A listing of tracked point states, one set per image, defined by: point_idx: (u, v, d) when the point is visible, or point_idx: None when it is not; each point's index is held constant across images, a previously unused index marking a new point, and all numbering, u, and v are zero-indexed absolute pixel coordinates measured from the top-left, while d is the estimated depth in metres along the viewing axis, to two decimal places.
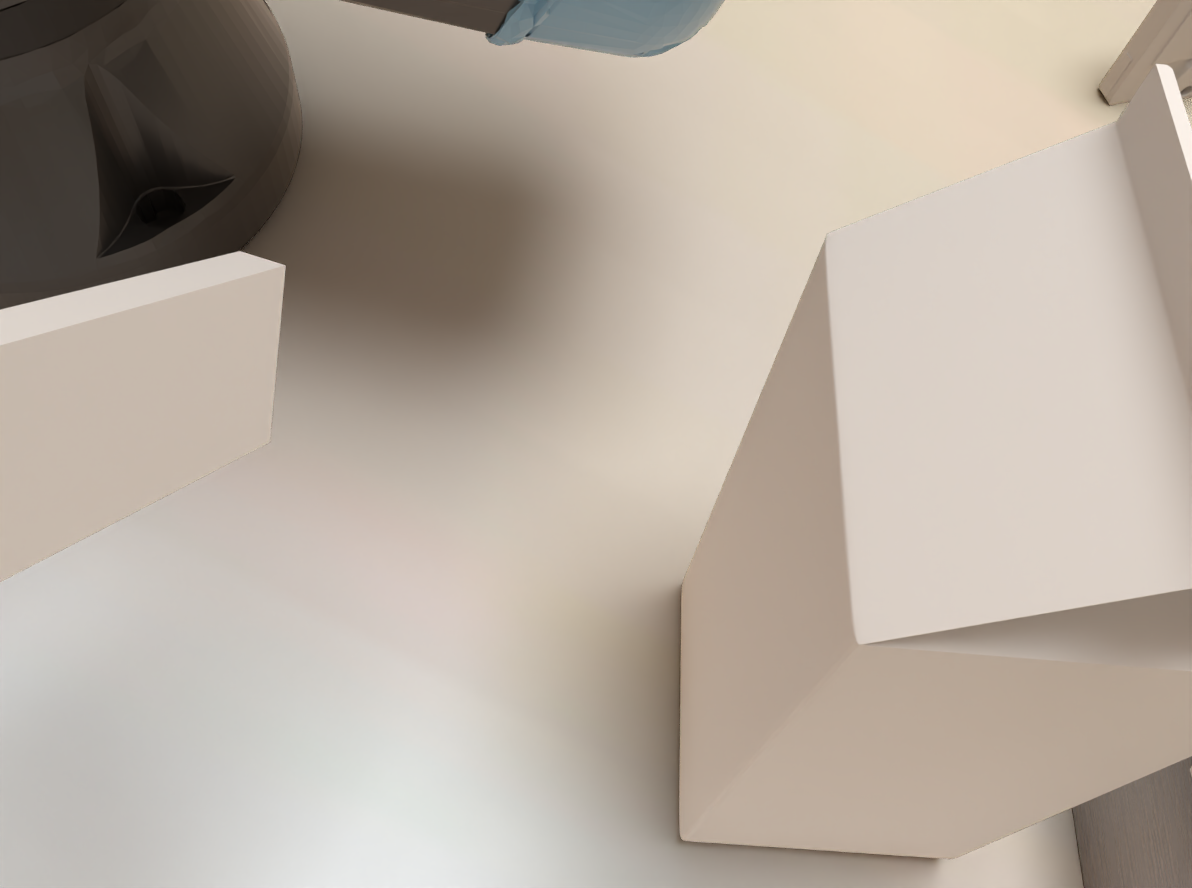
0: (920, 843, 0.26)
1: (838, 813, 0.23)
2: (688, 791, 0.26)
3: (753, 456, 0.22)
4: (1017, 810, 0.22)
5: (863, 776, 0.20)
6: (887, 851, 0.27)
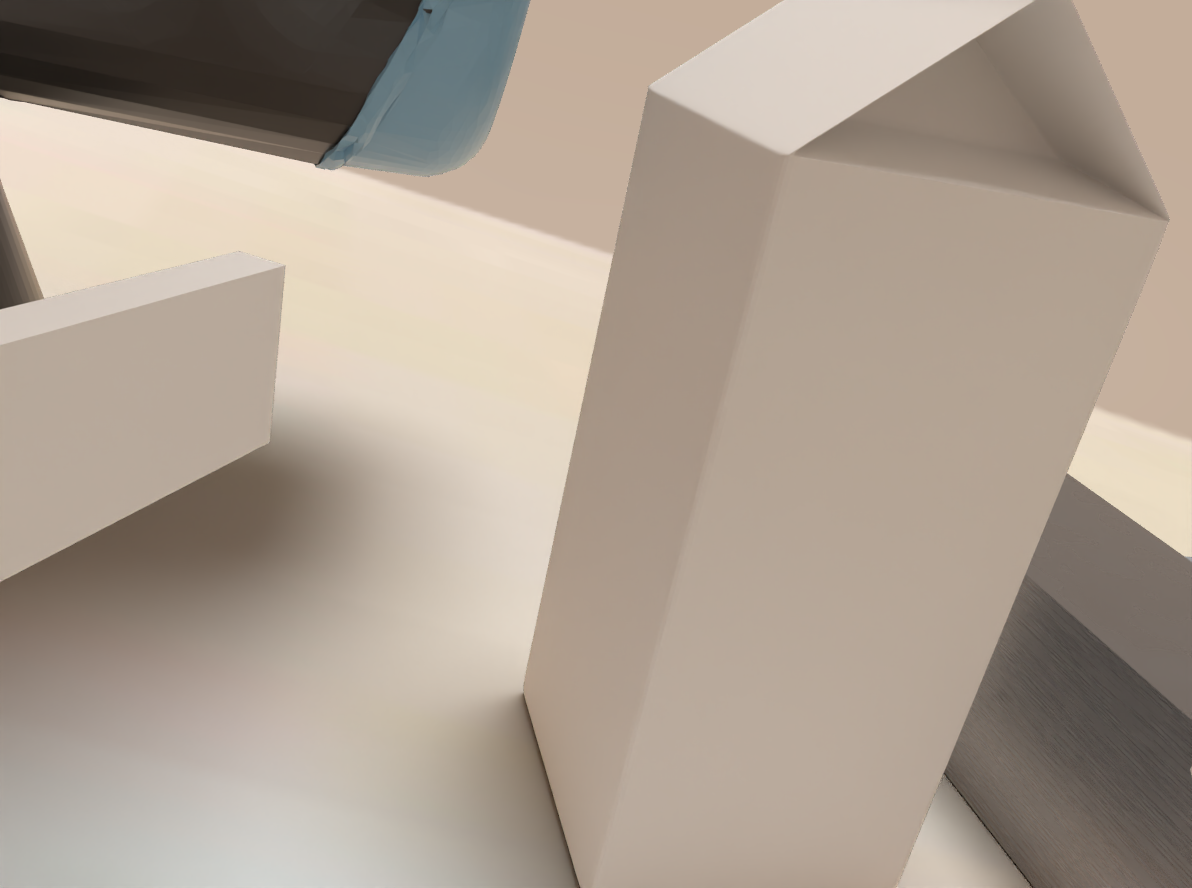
0: (859, 828, 0.22)
1: (772, 724, 0.20)
2: (589, 817, 0.22)
3: (606, 359, 0.23)
4: (948, 664, 0.21)
5: (797, 572, 0.19)
6: (826, 873, 0.23)
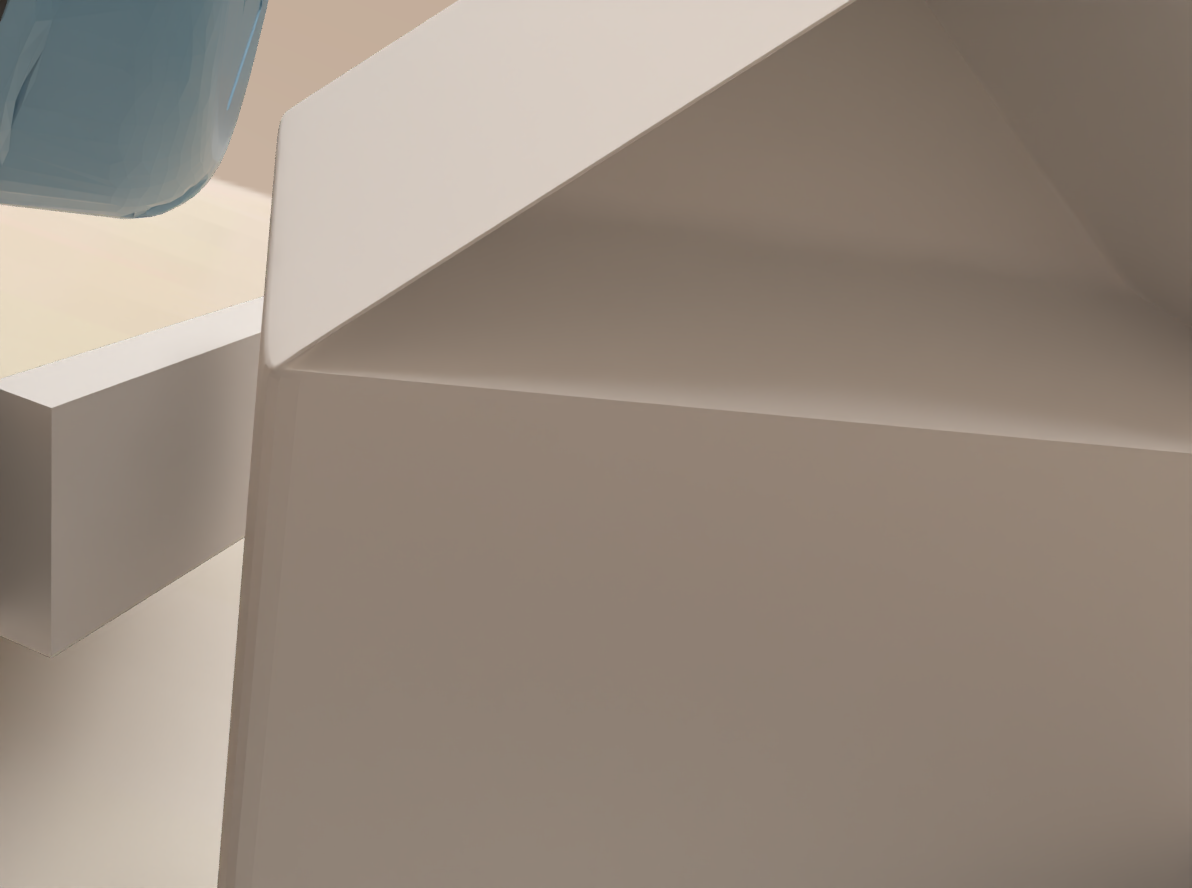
0: None
1: None
2: None
3: None
4: None
5: None
6: None
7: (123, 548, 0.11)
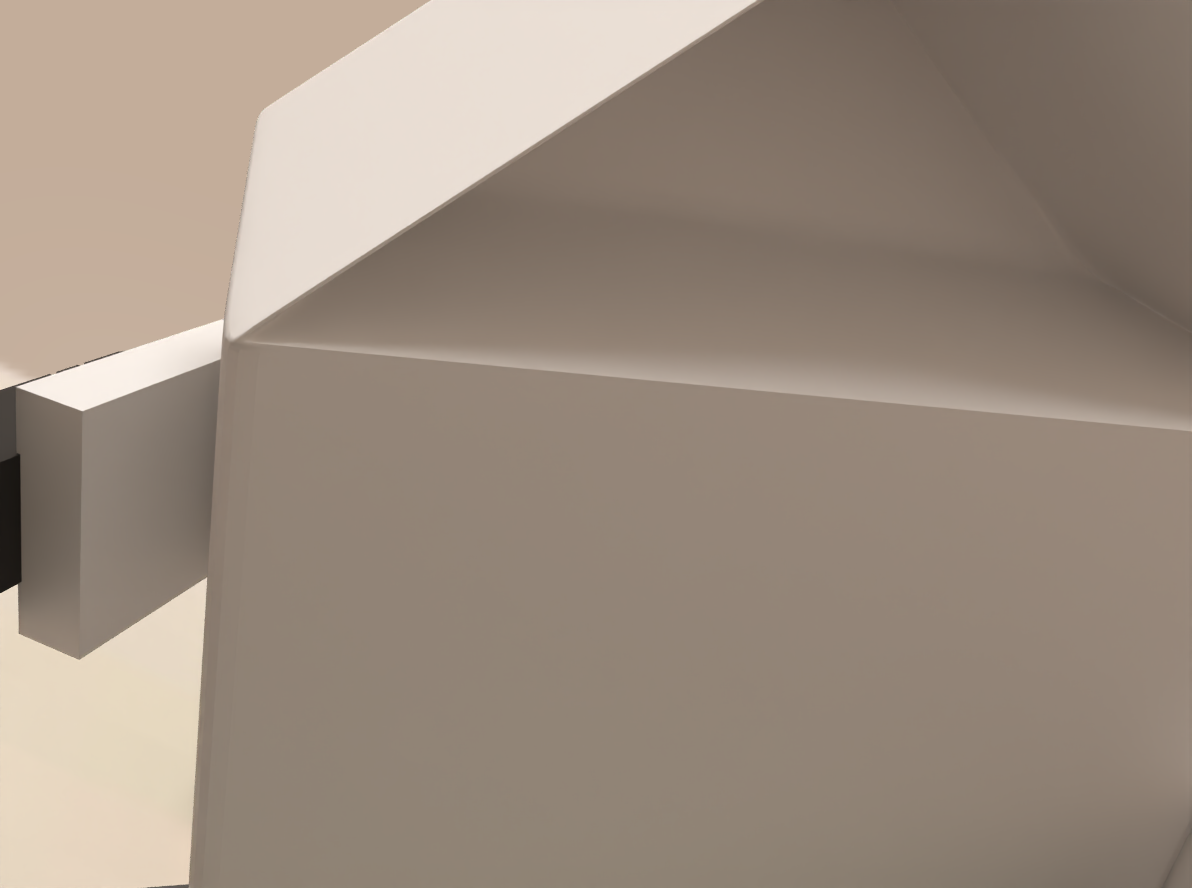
0: None
1: None
2: None
3: None
4: None
5: None
6: None
7: (149, 550, 0.11)
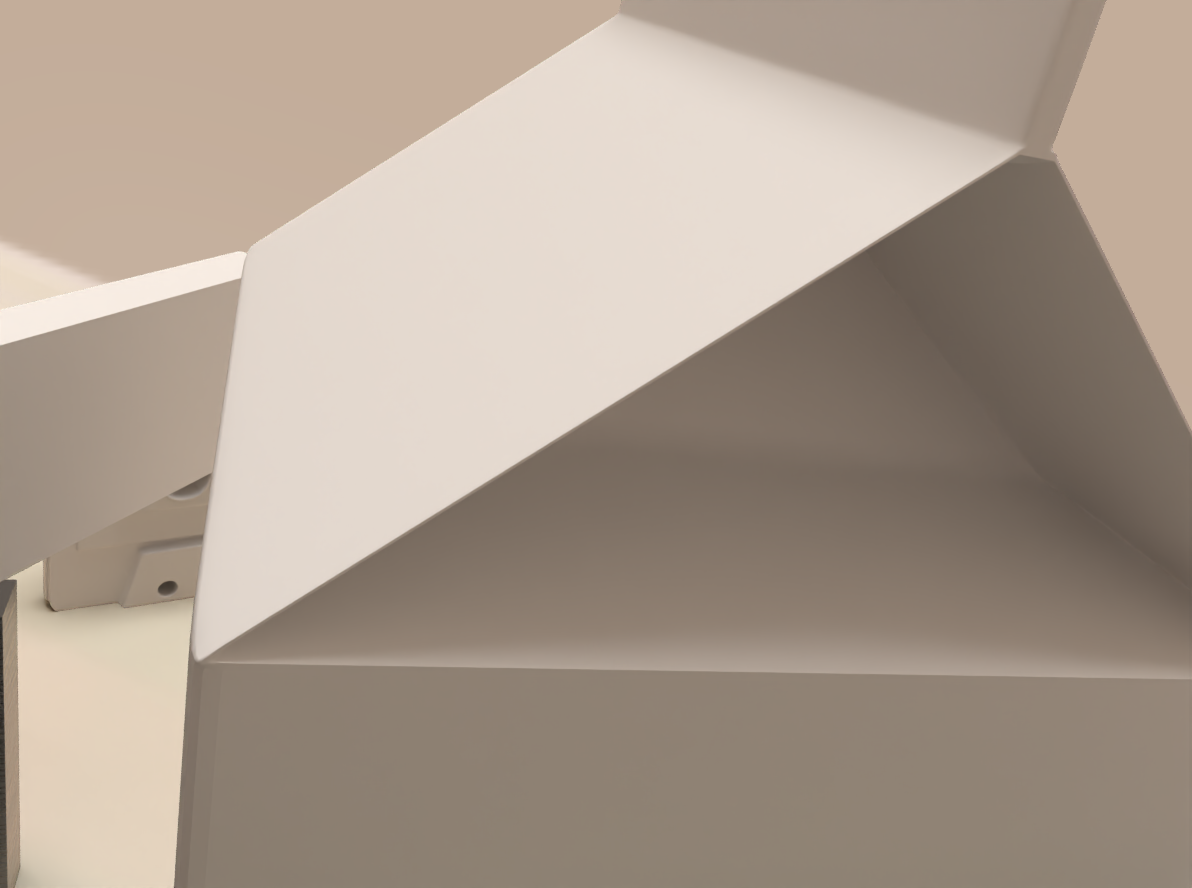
0: None
1: None
2: None
3: None
4: None
5: None
6: None
7: None
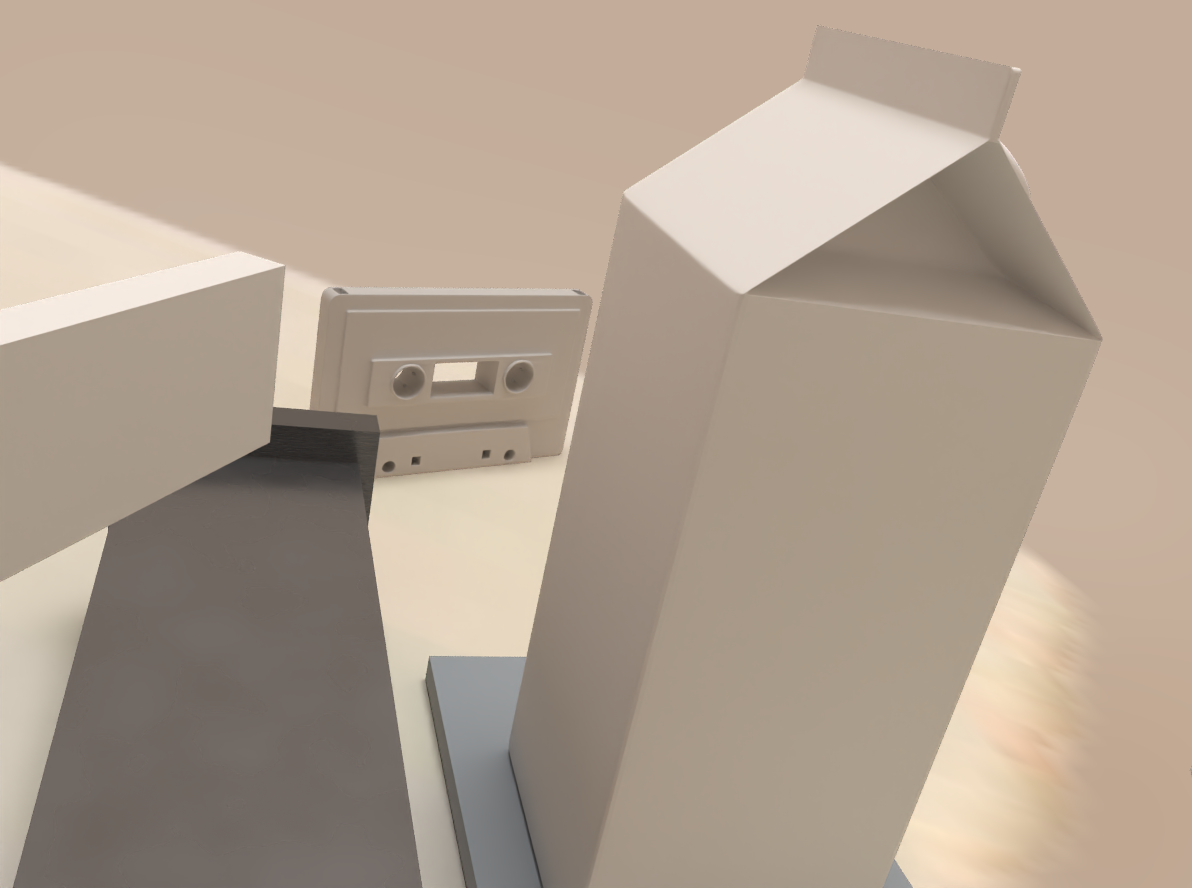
0: None
1: (738, 798, 0.22)
2: (567, 882, 0.23)
3: (584, 445, 0.24)
4: (904, 740, 0.22)
5: (758, 661, 0.20)
6: None
7: None
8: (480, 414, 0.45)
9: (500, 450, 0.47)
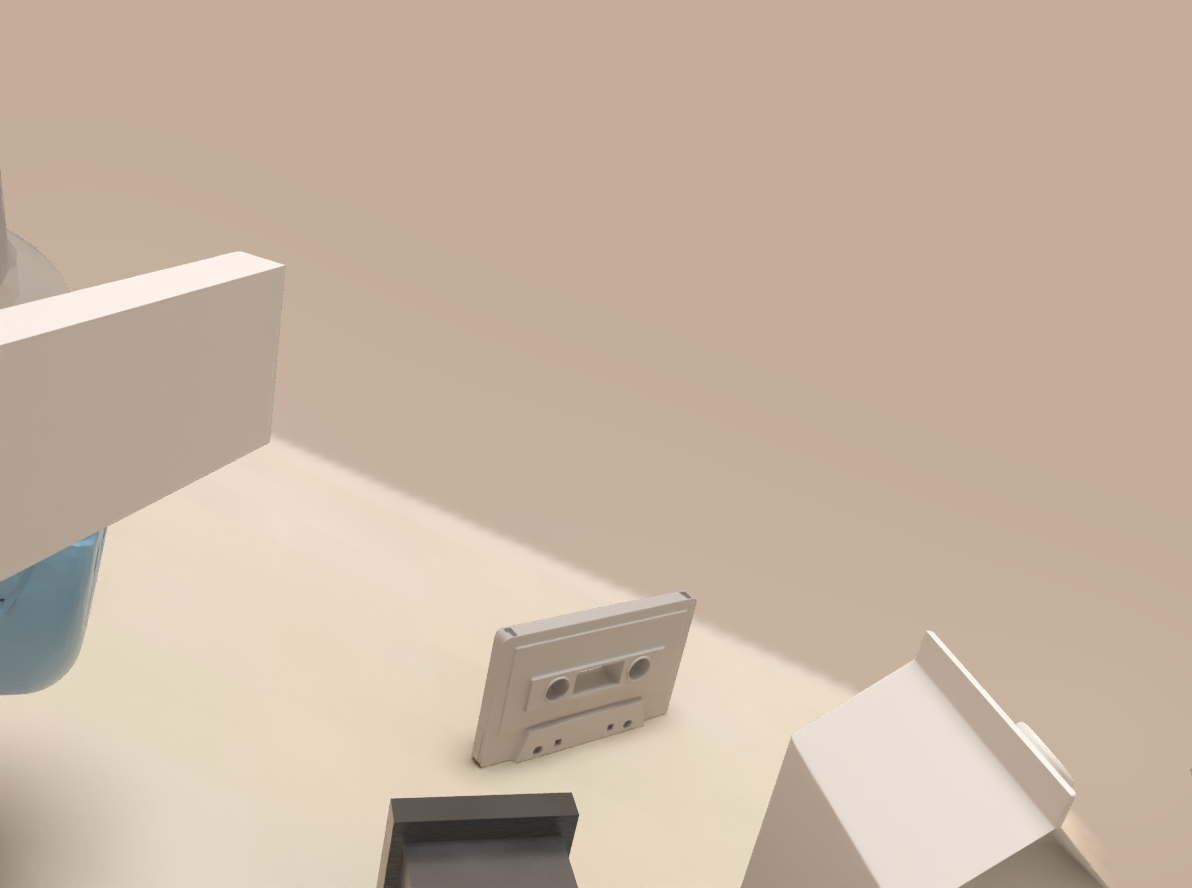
0: None
1: None
2: None
3: None
4: None
5: None
6: None
7: None
8: (607, 698, 0.56)
9: (621, 722, 0.57)
